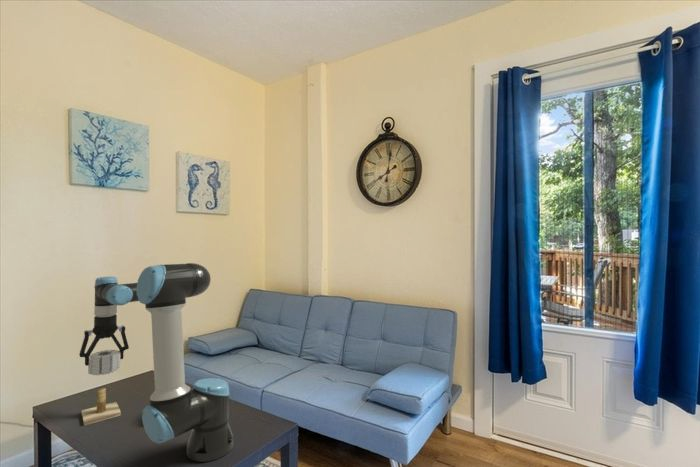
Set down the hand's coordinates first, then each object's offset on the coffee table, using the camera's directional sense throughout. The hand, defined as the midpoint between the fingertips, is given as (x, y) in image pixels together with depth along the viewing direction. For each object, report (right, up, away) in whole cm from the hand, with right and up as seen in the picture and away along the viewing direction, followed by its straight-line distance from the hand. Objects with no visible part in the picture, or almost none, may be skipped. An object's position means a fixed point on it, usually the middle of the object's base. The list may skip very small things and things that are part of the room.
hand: (104, 369), depth 142 cm
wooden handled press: (-1, -18, 0) cm, 18 cm away
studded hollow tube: (0, 0, 0) cm, 0 cm away
